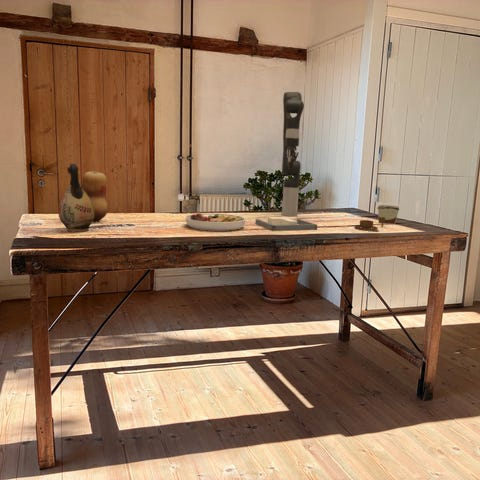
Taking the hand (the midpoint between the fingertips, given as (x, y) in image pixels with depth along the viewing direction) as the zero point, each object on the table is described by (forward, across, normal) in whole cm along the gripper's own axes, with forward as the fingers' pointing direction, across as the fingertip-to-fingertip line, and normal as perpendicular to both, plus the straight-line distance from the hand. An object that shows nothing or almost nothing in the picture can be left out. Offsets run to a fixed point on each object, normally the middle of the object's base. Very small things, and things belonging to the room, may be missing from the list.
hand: (290, 168), depth 268 cm
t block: (+29, +22, -12) cm, 38 cm away
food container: (+29, +17, +55) cm, 65 cm away
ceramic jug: (+29, +20, -115) cm, 120 cm away
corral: (+29, +22, -12) cm, 38 cm away
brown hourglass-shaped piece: (+29, -6, -106) cm, 110 cm away
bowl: (+30, +18, -49) cm, 60 cm away
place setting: (+30, +35, +33) cm, 57 cm away
